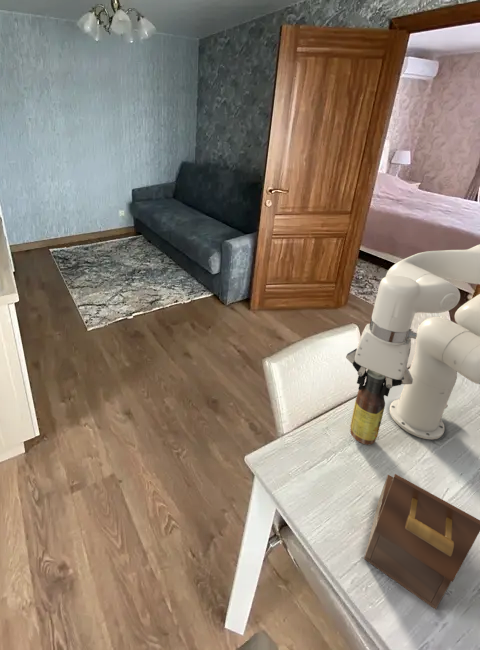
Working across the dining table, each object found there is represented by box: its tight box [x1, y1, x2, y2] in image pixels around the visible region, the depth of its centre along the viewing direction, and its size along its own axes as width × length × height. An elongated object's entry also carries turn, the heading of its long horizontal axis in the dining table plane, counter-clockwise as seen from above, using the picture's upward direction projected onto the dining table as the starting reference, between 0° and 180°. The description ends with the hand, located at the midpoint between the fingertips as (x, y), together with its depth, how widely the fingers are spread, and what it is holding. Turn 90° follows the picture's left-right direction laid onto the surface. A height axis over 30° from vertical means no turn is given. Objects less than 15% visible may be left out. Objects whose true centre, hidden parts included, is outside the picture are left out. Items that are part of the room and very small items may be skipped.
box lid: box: [375, 473, 480, 583], centre depth 54 cm, size 14×11×6 cm
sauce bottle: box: [349, 369, 386, 446], centre depth 86 cm, size 6×6×20 cm
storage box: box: [363, 474, 452, 610], centre depth 65 cm, size 13×11×9 cm
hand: (371, 390), depth 84 cm, fingers closed on sauce bottle, 4 cm apart
